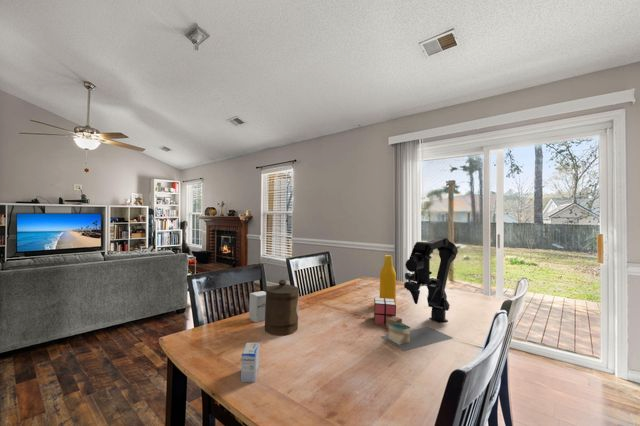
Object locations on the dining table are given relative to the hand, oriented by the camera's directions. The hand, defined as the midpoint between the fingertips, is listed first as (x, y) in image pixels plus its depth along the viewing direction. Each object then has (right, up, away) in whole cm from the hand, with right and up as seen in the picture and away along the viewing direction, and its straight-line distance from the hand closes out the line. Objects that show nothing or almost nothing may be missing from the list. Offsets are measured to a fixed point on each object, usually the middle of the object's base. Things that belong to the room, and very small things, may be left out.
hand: (423, 302), depth 131 cm
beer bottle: (-9, -12, +32) cm, 35 cm away
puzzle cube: (-16, -12, +7) cm, 21 cm away
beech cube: (-15, -5, -15) cm, 22 cm away
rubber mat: (-7, -11, -12) cm, 18 cm away
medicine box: (-70, -10, -42) cm, 82 cm away
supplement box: (-78, -11, +7) cm, 79 cm away
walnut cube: (-14, -12, -2) cm, 18 cm away
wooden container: (-66, -11, -5) cm, 67 cm away
